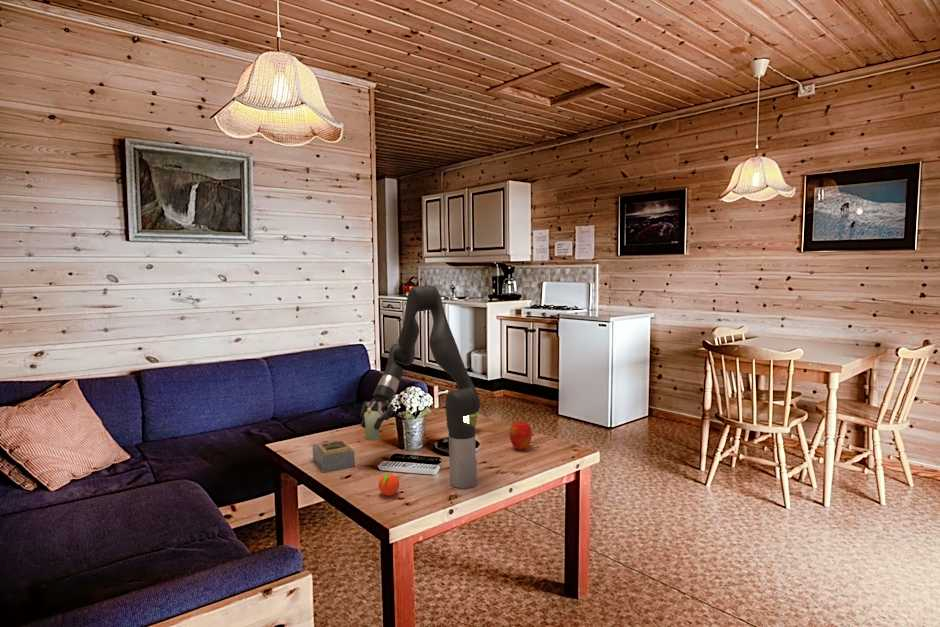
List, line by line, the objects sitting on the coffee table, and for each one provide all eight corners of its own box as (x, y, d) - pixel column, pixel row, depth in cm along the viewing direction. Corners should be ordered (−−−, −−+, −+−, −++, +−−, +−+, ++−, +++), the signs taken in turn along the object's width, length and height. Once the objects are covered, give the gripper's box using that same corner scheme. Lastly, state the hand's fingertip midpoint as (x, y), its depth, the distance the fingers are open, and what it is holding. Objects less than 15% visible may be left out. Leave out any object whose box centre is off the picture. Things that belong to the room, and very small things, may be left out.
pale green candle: (371, 435, 218) (369, 405, 217) (382, 437, 216) (381, 406, 215) (363, 439, 213) (361, 408, 212) (374, 441, 211) (372, 409, 210)
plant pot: (464, 428, 261) (464, 409, 260) (482, 431, 256) (482, 412, 255) (453, 433, 253) (453, 414, 252) (472, 437, 248) (471, 417, 247)
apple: (508, 445, 237) (508, 417, 235) (530, 444, 237) (530, 416, 235) (510, 453, 227) (510, 424, 226) (533, 452, 227) (532, 423, 226)
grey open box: (354, 466, 216) (354, 447, 216) (323, 472, 211) (322, 453, 210) (342, 453, 230) (342, 435, 230) (313, 459, 225) (312, 440, 224)
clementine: (393, 501, 186) (392, 480, 185) (374, 499, 187) (373, 478, 187) (402, 491, 193) (402, 471, 192) (384, 489, 195) (383, 469, 194)
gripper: (366, 382, 222) (349, 420, 213) (397, 385, 216) (380, 425, 207) (375, 392, 228) (358, 430, 218) (406, 395, 221) (389, 434, 212)
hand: (369, 427), depth 213 cm, fingers closed on pale green candle, 5 cm apart
